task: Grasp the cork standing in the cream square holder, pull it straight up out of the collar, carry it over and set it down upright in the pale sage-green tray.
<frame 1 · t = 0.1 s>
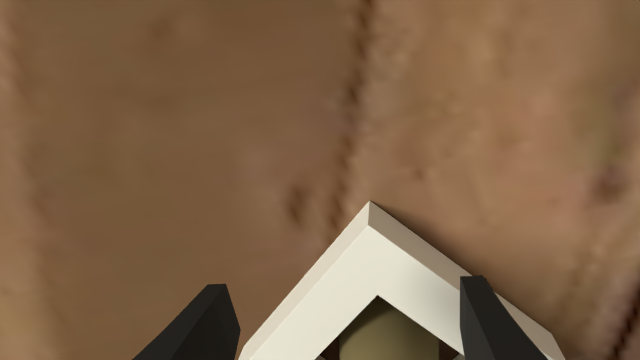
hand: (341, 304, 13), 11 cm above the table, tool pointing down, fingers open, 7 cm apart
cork: (388, 337, 27), resting in holder
holder: (388, 340, 26), on the table
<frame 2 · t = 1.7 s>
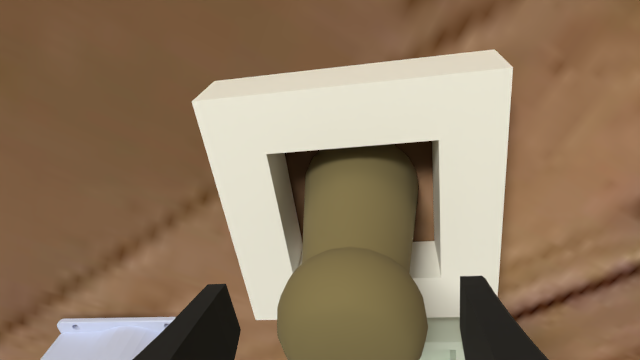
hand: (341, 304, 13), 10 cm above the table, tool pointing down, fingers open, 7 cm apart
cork: (360, 185, 23), resting in holder
tray: (380, 359, 30), on the table
holder: (360, 187, 23), on the table
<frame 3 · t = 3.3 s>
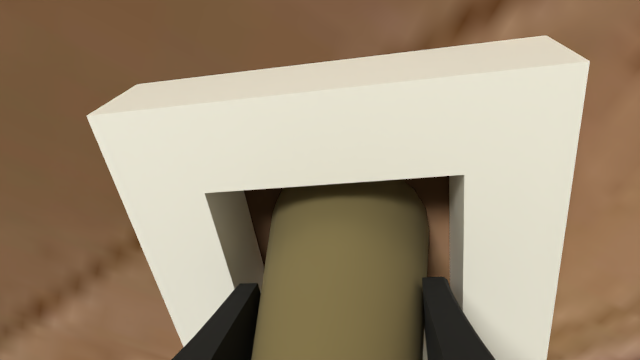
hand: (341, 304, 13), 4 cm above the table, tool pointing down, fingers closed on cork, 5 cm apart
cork: (349, 227, 17), resting in holder, touching gripper
holder: (348, 230, 17), on the table
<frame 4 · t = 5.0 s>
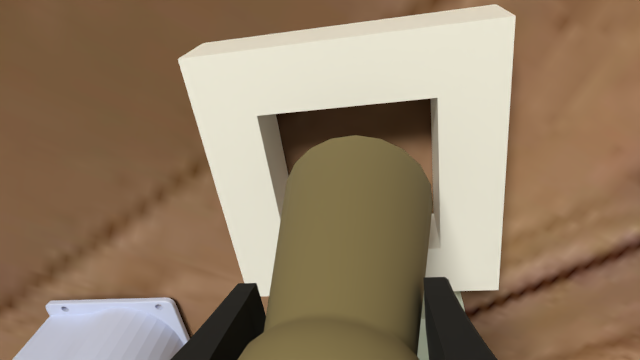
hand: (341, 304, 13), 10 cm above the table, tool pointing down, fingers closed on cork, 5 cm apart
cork: (357, 199, 18), point 5 cm above the table, touching gripper
tray: (378, 340, 29), on the table
holder: (356, 156, 22), on the table
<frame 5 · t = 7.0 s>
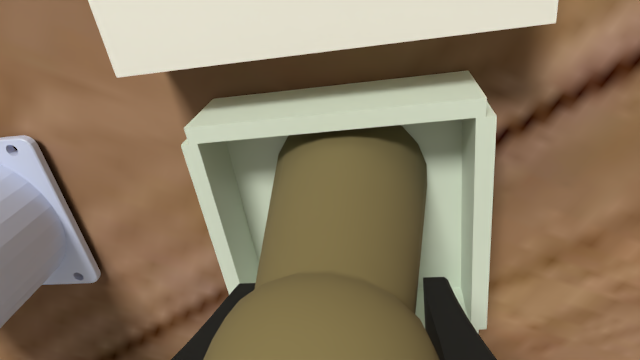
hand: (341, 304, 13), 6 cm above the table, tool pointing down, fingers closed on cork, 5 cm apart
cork: (350, 177, 18), resting on tray, touching gripper
tray: (349, 201, 19), on the table
when the fingers open (6 cm above the table, at t = 7.9 s): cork stays where it is, resting on tray.
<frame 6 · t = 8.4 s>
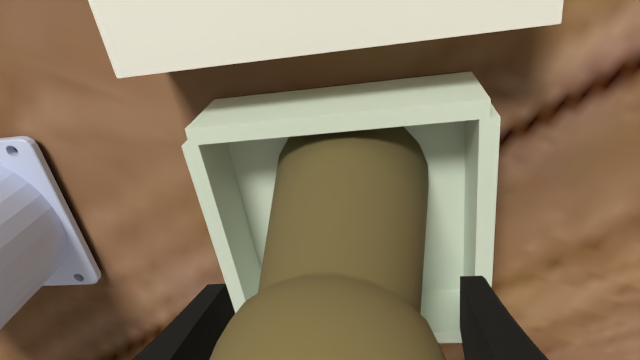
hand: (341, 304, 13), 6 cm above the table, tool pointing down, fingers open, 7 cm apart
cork: (351, 178, 18), resting on tray
tray: (351, 202, 19), on the table
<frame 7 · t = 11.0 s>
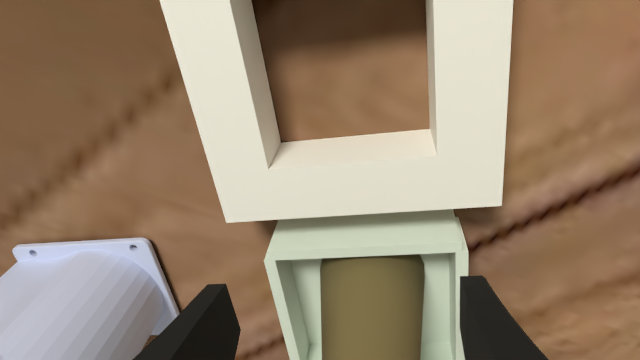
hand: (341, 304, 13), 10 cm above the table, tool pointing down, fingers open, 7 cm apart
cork: (371, 270, 25), resting on tray
tray: (371, 283, 27), on the table
holder: (344, 61, 20), on the table
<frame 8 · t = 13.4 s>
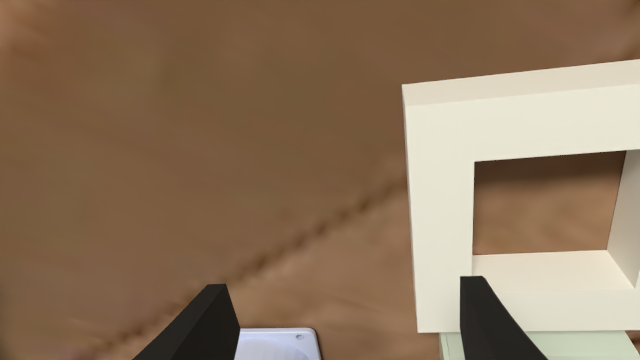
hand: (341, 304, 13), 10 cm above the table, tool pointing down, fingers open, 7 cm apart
holder: (538, 194, 22), on the table
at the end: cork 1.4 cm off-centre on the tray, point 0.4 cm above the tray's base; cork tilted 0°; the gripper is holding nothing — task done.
